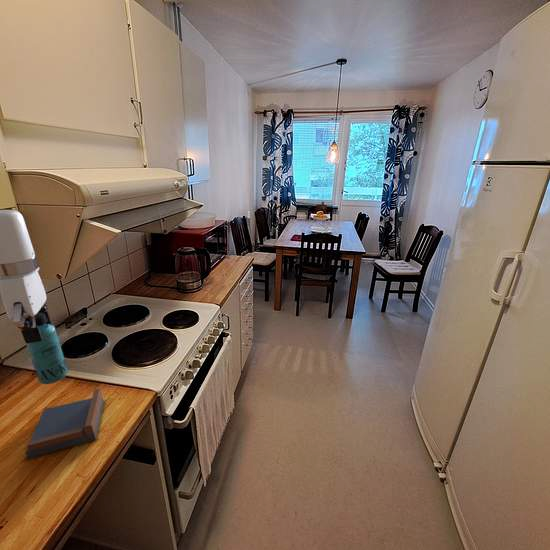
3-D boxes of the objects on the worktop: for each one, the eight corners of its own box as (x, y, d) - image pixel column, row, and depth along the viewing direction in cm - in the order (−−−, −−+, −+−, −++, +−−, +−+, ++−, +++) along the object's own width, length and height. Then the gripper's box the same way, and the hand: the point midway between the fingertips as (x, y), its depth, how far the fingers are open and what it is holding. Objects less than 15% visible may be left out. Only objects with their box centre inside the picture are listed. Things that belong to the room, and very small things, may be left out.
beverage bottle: (34, 386, 74) (8, 320, 67) (57, 369, 80) (36, 307, 73) (54, 391, 73) (30, 324, 65) (76, 374, 79) (57, 311, 71)
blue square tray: (28, 458, 72) (21, 443, 70) (46, 415, 84) (40, 401, 82) (96, 439, 77) (91, 425, 75) (103, 401, 89) (100, 388, 87)
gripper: (12, 256, 70) (33, 319, 77) (-26, 283, 55) (5, 358, 62) (48, 253, 73) (66, 314, 80) (22, 278, 58) (46, 350, 65)
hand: (39, 332), depth 71 cm, fingers closed on beverage bottle, 6 cm apart
